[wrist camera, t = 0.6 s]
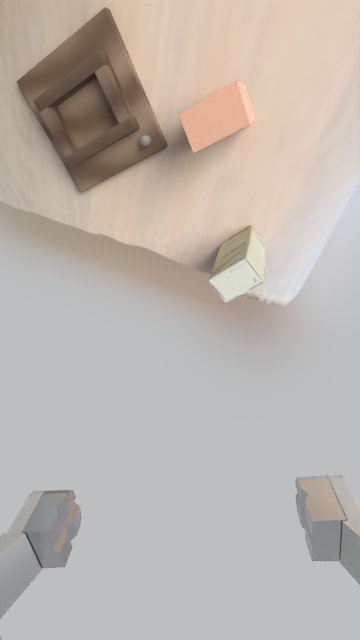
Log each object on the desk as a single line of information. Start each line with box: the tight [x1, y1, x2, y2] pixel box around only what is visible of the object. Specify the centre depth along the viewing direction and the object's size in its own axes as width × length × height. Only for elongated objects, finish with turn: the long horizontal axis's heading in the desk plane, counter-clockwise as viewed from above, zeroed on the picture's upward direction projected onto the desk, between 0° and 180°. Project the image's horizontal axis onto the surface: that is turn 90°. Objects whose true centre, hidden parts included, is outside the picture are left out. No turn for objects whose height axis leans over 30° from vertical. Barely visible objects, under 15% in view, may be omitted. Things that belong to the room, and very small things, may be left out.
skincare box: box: [209, 225, 266, 302], centre depth 47 cm, size 6×4×12 cm
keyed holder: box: [17, 8, 167, 192], centre depth 44 cm, size 16×16×4 cm
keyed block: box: [178, 81, 255, 153], centre depth 37 cm, size 4×6×11 cm, turn 115°
